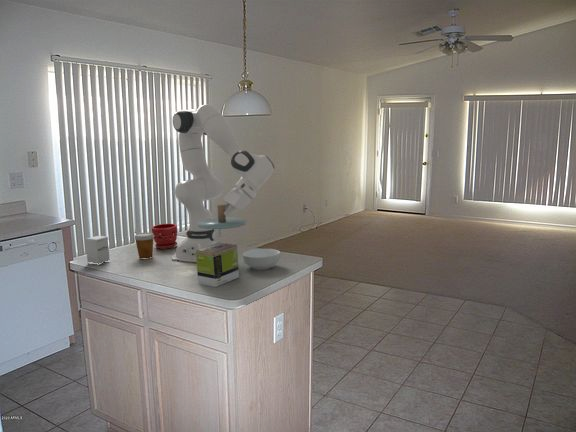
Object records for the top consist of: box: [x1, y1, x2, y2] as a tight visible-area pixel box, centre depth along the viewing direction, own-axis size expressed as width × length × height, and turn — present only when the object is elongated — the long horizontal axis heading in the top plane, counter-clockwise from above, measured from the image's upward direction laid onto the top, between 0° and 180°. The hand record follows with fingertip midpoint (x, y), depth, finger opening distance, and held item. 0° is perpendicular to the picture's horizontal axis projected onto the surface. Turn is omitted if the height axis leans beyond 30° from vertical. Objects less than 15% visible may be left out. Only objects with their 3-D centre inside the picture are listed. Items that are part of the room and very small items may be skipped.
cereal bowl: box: [242, 248, 281, 271], centre depth 222 cm, size 17×17×7 cm
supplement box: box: [85, 235, 110, 264], centre depth 236 cm, size 7×7×13 cm
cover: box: [198, 204, 247, 230], centre depth 203 cm, size 20×20×8 cm
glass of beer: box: [133, 232, 154, 259], centre depth 244 cm, size 10×10×12 cm
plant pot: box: [151, 223, 178, 250], centre depth 265 cm, size 13×13×12 cm
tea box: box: [196, 241, 240, 288], centre depth 203 cm, size 15×10×15 cm, turn 145°
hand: (223, 213), depth 203 cm, fingers closed on cover, 3 cm apart
